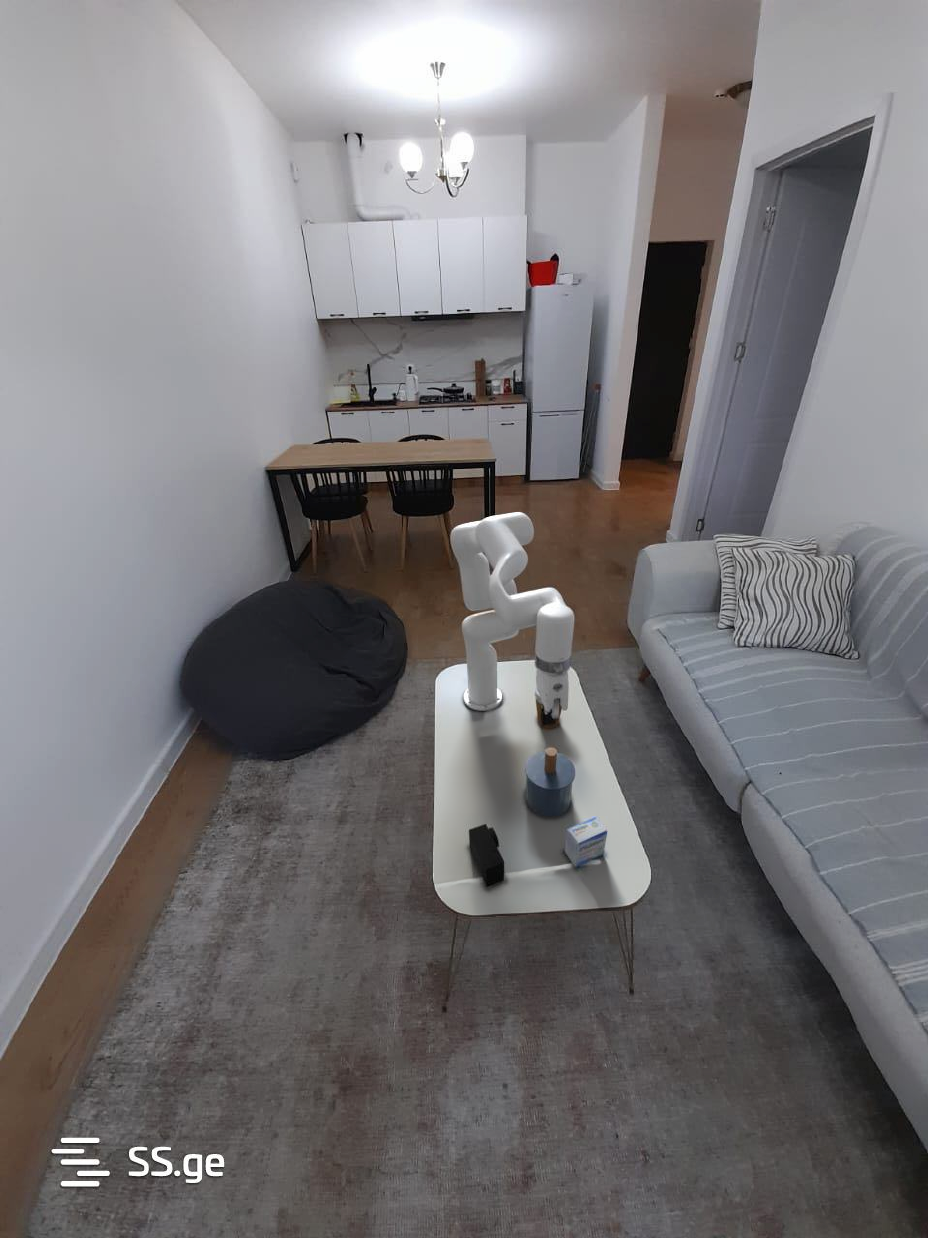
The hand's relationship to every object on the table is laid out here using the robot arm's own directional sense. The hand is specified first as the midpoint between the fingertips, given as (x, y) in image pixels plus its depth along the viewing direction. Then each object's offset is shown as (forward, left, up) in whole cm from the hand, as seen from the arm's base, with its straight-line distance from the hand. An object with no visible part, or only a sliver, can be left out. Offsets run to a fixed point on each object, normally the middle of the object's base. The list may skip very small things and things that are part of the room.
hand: (547, 722), depth 115 cm
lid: (+1, +1, -15) cm, 15 cm away
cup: (+1, +1, -25) cm, 25 cm away
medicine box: (+17, +5, -25) cm, 31 cm away
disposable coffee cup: (-27, +9, -25) cm, 38 cm away
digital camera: (+16, -17, -25) cm, 35 cm away
